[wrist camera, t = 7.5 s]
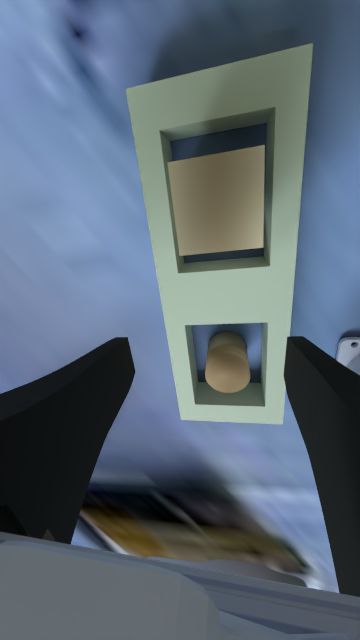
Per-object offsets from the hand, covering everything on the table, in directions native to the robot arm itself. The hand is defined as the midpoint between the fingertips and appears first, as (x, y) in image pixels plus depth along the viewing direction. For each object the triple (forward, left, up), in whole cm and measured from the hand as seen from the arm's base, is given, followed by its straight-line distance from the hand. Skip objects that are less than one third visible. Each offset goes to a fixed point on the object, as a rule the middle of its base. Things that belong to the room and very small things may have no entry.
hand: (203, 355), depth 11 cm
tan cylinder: (-1, +6, -10) cm, 12 cm away
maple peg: (-1, -6, -10) cm, 12 cm away
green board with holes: (-1, 0, -10) cm, 10 cm away
